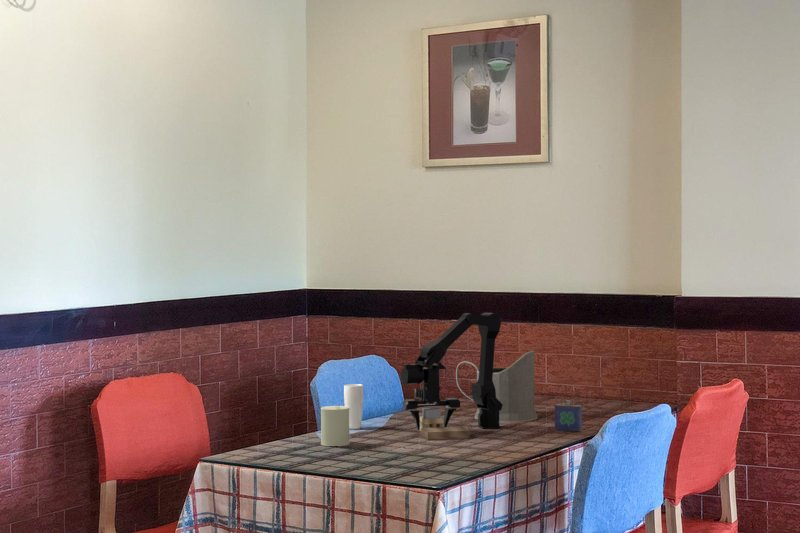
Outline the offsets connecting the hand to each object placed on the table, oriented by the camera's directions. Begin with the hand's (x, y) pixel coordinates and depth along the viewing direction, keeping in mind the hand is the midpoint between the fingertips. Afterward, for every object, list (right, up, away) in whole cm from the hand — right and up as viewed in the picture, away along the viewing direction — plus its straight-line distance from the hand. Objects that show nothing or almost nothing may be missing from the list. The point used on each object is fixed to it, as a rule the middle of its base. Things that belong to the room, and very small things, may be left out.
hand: (431, 429), depth 334 cm
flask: (+46, -1, 0) cm, 46 cm away
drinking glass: (-27, -1, +9) cm, 28 cm away
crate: (0, +4, 0) cm, 4 cm away
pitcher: (+25, -1, +35) cm, 43 cm away
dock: (+4, -1, -9) cm, 10 cm away
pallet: (0, -1, 0) cm, 1 cm away
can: (-31, -1, -21) cm, 38 cm away
